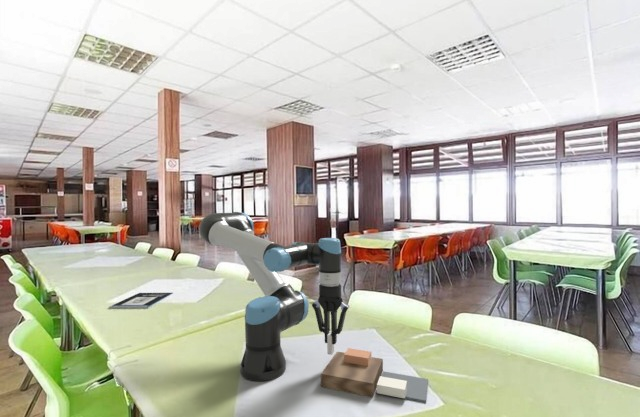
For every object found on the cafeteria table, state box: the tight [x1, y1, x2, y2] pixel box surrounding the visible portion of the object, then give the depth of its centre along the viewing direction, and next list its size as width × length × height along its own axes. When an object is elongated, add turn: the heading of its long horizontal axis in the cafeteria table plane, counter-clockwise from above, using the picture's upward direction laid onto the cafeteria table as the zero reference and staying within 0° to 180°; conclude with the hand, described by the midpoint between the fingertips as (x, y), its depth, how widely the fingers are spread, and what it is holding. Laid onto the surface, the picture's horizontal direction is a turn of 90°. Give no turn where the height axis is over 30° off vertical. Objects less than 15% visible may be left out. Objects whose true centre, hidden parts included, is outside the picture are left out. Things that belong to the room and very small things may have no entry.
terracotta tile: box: [344, 347, 372, 366], centre depth 109 cm, size 8×5×2 cm, turn 69°
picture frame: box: [108, 292, 174, 310], centre depth 193 cm, size 22×30×2 cm
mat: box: [375, 370, 429, 403], centre depth 100 cm, size 14×12×1 cm
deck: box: [320, 351, 384, 398], centre depth 105 cm, size 16×16×4 cm
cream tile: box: [376, 375, 407, 399], centre depth 97 cm, size 8×5×2 cm, turn 69°
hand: (330, 352), depth 112 cm, fingers closed
